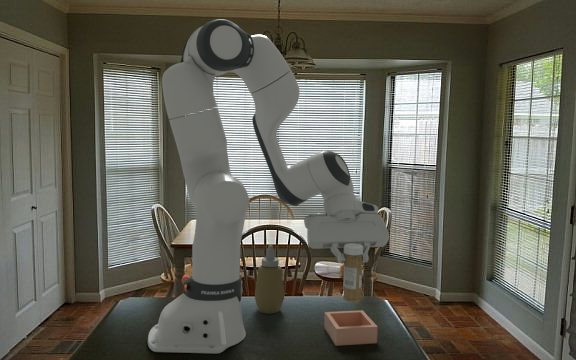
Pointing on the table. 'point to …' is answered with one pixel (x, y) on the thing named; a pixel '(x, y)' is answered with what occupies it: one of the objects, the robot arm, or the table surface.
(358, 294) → the sprinkles bottle
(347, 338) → the terracotta socket
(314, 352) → the table surface
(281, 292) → the squeeze bottle
